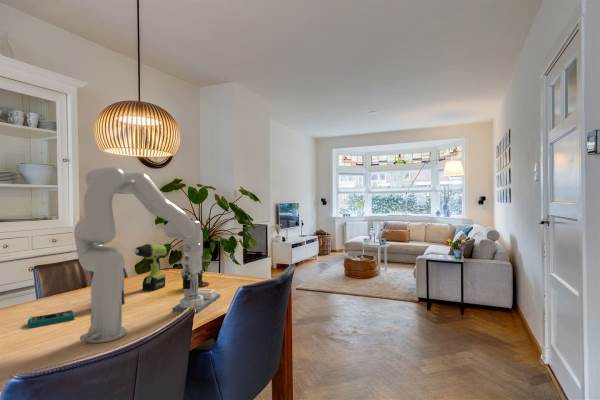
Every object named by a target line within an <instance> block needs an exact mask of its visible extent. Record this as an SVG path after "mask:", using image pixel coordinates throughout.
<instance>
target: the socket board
mask: <svg viewBox="0 0 600 400" xmlns="http://www.w3.org/2000/svg"><path fill="white" fill-rule="evenodd" d="M220 298H221V293H217V289H208V288H198V299H196V300H184V295H183V296H181V297H180V298H179V304H177V305H175V306H173V307H172V312H175V313H176V312H178V313H184V312H183V311H184V310H186V309H187V308H188V307H191V306H194V307H195V309H196V313H195V314H198V313H200V312H202V311H203V310H204V309H206V308H207V307H209V306H210V305H211V304H212V303H214V302H215V301H217V300H218V299H220Z"/></svg>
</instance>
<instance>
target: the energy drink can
mask: <svg viewBox="0 0 600 400" xmlns="http://www.w3.org/2000/svg"><path fill="white" fill-rule="evenodd" d="M187 277H188V275H187ZM189 280H190V289H183V292H184V293H183V296H184V300H196V299H198V289H199V287H198V273H196V274H194V275H192V274H191V276H190V279H189Z"/></svg>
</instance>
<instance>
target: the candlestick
mask: <svg viewBox="0 0 600 400" xmlns="http://www.w3.org/2000/svg"><path fill="white" fill-rule="evenodd" d="M202 229H203V224H201V257H202V266H203V265H204V264H208V263H211V262H212V261H211V258H203V257H204V256H205V254H204V253H203V246H204V245H203V243H204V242H203V231H202ZM203 254H204V255H203ZM203 274H204V271H203V269H202V270H201V274H200V284H198V288H206V287H208V286H210V282H208V281H203V277H204V276H203Z"/></svg>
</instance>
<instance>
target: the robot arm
mask: <svg viewBox="0 0 600 400" xmlns="http://www.w3.org/2000/svg"><path fill="white" fill-rule="evenodd" d="M84 182H85V185H86V186H87V188H86V190H85V193H84V195H83V212H84V214H83V215H84V217H83V218H80V220H78V221H77V222H76V225H75V226H74V229H73V232H74V233H73V236H74V242H75V247H76V254H77V258H78V261H79V264H80V266H81V267H82V268H83V269H84V270H85V271H86V270H87V271H88V272H89V271H90V272H93V276H92V279H91V282H92V283H91V282H90V326H89V327H88V331H87V332H86V333H83V334H81V335H80V336H79V340H80V341H81V342H84V341H86V342H87V343H89V344H90V343H92V344H100V343H107V342H112V341H115V340H118V339H120V338H122V337H124V336H125V335H126V334H127V330H128V329H127V328H126V327H125V326H123V323H122V322H123V321H122V319H123V317H122V316H123V313H122V312H123V309H122V308H123V307H122V306H123V304H122V274H123V271H124V268H125V262H126V261H125V256H124V255H125V254H124V253H123V252H122V251H121V249H118V248H116V247H114V246H108V245H106V244H109V243H110V242H112V241H113V240H114V239H115V238H116V235H117V234H116V233H117V228H116V222H115V216H114V211H113V199H114V196H115V194H116V195H117V194H119V195H133V196H134V197H135V198H136V199H137V200H138V201H139V203H141V205H142V206H143V207H144V208H145V209H146V211H148V213H149V214H151V215H153V216H156V217H157V218H161V219H163V220H165V221H167V223H166V224H165V225H164V227H163V232H164V234H165V236H167V237H168V238H172V239H181V240H183V241H182V243H183V244H182V246H183V247H182V248H183V249H182V252H183V256H182V269H181V271H180V275H181V279H182V289H183V290H184V289H190V280H189V279H190V276H191V274H192V275H194V274H196V273H198V284H200V274H201V270H202V271H203V265H202V257H201V231H202V229H201V225H202V224H201V221H199V220H193V219H192V220H191V218H190V217H189V216H188V215H187V213H186V212H185V211H184V210H182V209H181V208H180V207H178V206H177V205H176V204H175V203H173V202H171V201H170V200H168V199H167V198H166V197H165V195H164V194H163V192H161V190H160V189H159V188H158V186H157V185H156V184H155V183H154V182H153V180H152V179H151V178H150V176H149V175H148V174H146V173H144V172H138V171H137V172H129V173H127V172H124V171H123V170H122V169H121V168H119V167H117V166H107V167H106V166H105V167H99V168H98V167H97V168H93V169H90V170H89V171H88V172H87V173H86V175H85V177H84ZM187 275H188V277H187Z"/></svg>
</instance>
